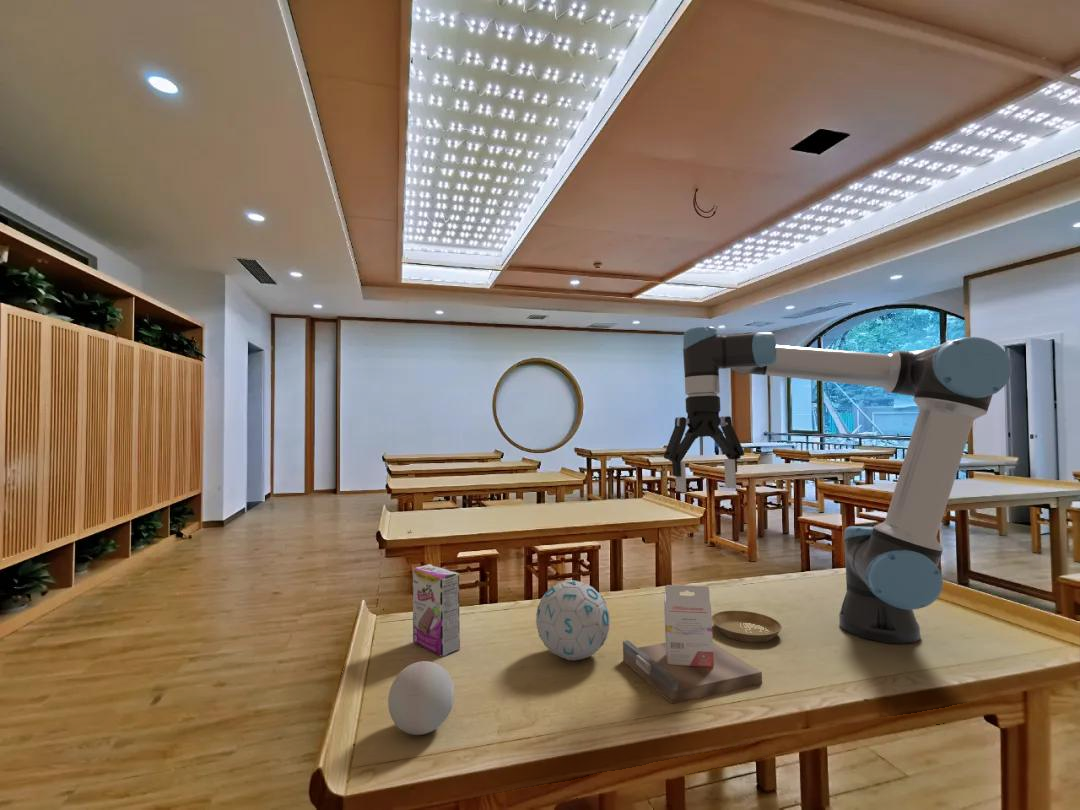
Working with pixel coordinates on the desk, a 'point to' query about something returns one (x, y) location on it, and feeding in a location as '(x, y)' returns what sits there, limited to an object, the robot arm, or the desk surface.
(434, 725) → the grey sphere
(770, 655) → the desk surface
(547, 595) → the puzzle ball
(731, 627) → the plant saucer
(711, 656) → the ink cartridge box
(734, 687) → the flat brown box
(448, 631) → the candy bar box
